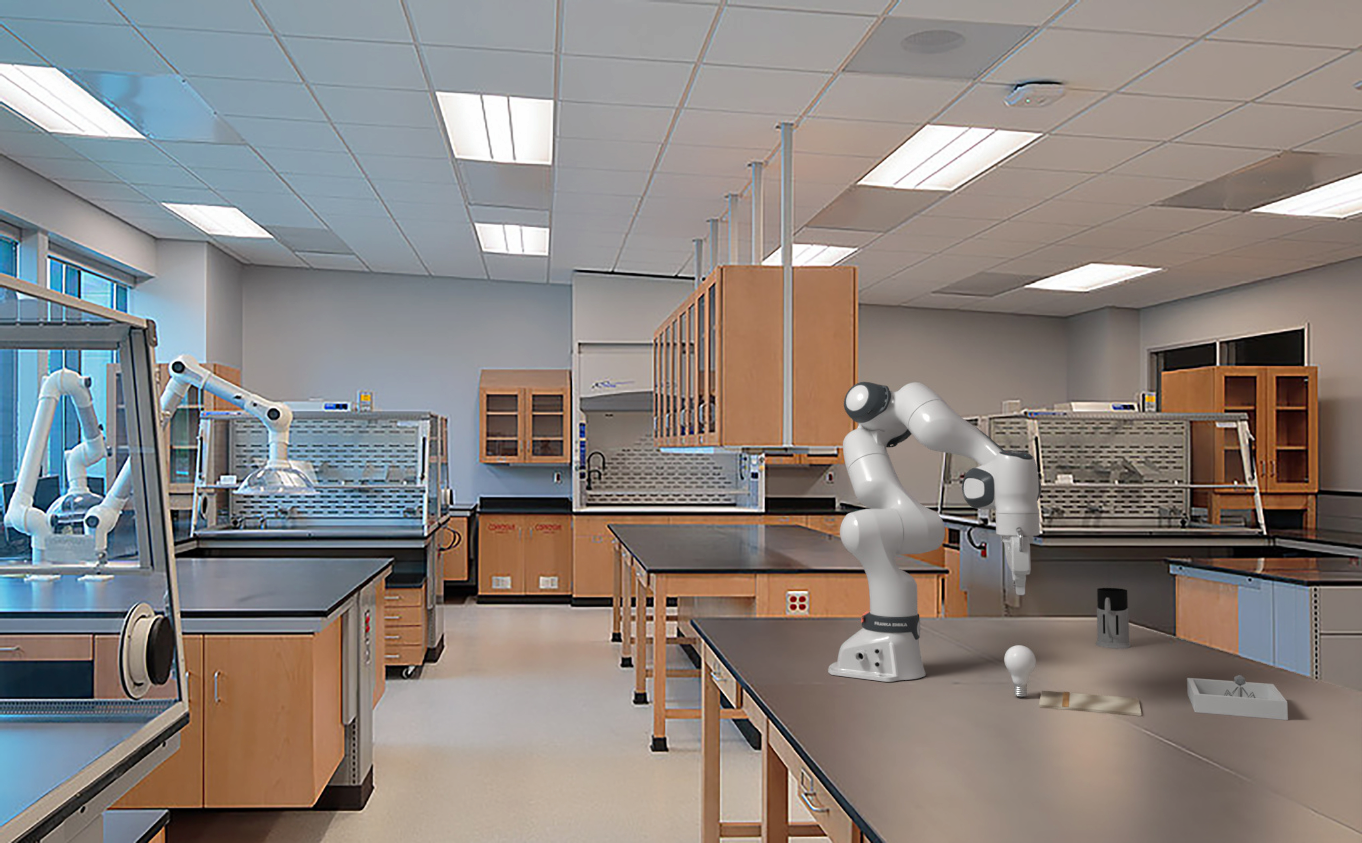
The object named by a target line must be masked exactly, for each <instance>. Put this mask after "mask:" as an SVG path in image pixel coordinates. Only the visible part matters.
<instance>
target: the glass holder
mask: <svg viewBox="0 0 1362 843" xmlns="http://www.w3.org/2000/svg"><path fill="white" fill-rule="evenodd" d="M1096 598H1097V599H1096V602H1097V605H1096V626H1097V628H1096V630H1097V636H1096V637H1097V638H1096V639H1097V640H1096V642H1095V646H1097V647H1101V648H1105V649H1115V650H1116V649H1118V650H1119V649H1121V650H1122V649H1130V648H1132V645H1131V643H1130V626H1129V625H1130V621H1129V620H1130V619H1129V617H1130V616H1129V614H1130V613H1129V606H1128V605H1129V603H1128V589H1125V588H1119V587H1099V588H1097V589H1096Z"/></svg>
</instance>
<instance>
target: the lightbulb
mask: <svg viewBox="0 0 1362 843" xmlns="http://www.w3.org/2000/svg"><path fill="white" fill-rule="evenodd" d="M1003 659H1004V660H1003V661H1004V665H1005V667H1006V670H1007V671H1008V673H1009V674H1010V676H1011V681H1012V682H1013V695H1014V696H1015V697H1017V698H1019V699H1022V698H1025V697H1026V696H1028V683H1029V680H1030V676H1031V674H1032V673H1033V671H1034V669H1035V668H1036V663H1037V662H1036V655H1035V654H1034V652H1033V651H1032V650H1031V649H1030V648H1029V647H1027V646H1024V645H1021V644H1019V645H1018V644H1015V645H1014V646H1011V647H1009V648H1008V649H1007V650H1006V652H1005V654H1004V658H1003Z"/></svg>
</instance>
